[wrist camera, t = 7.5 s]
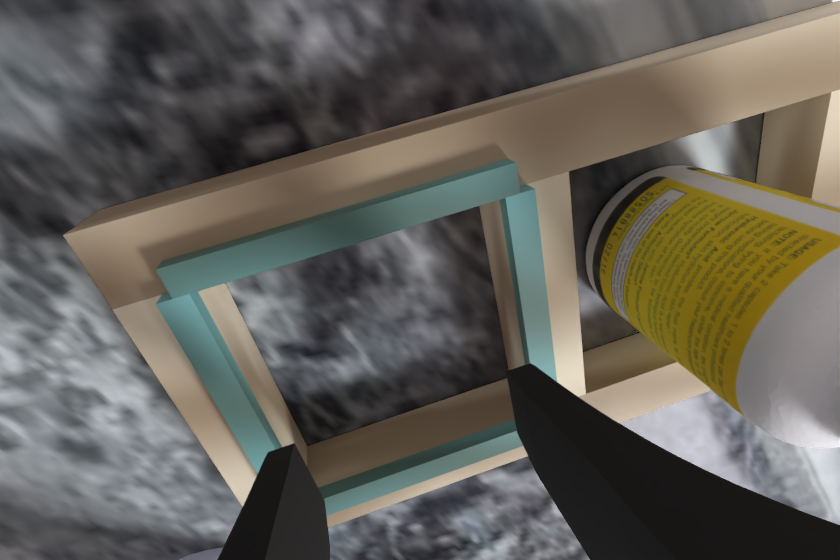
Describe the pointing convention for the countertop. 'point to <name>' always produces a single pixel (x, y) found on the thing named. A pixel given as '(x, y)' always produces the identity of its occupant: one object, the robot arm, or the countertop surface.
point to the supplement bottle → (731, 291)
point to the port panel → (434, 198)
